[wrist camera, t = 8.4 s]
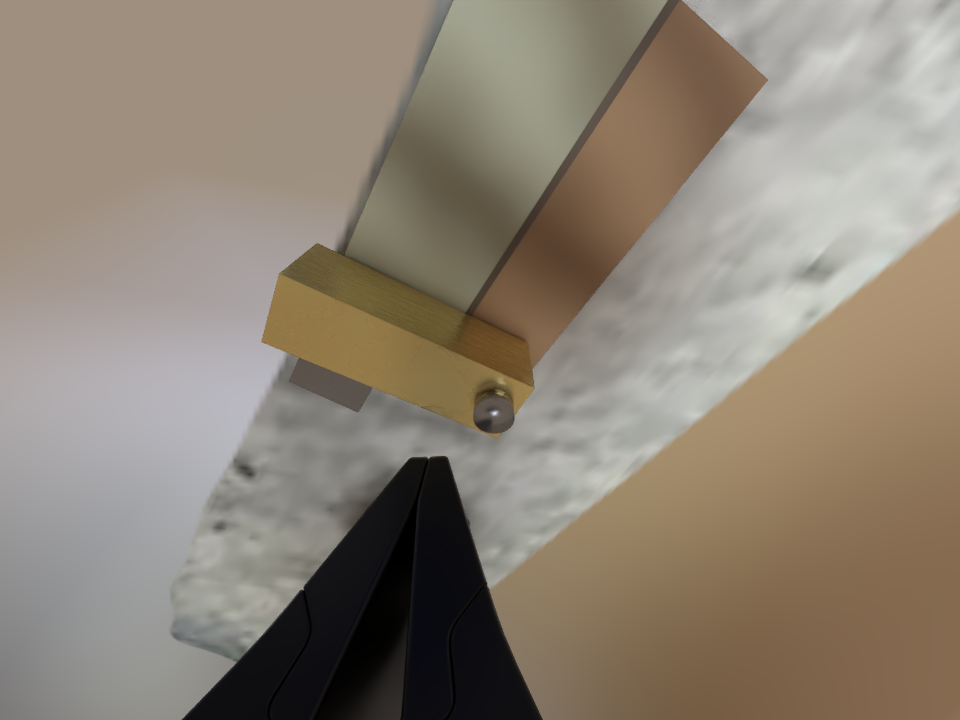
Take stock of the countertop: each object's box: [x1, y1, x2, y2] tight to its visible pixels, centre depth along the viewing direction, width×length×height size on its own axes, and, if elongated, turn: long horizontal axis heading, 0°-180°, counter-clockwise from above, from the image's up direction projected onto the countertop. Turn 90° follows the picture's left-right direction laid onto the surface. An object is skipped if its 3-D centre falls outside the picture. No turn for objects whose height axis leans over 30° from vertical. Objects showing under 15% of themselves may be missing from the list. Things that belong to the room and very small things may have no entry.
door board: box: [344, 0, 768, 369], centre depth 17 cm, size 18×10×1 cm, turn 149°
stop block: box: [289, 358, 373, 412], centre depth 18 cm, size 2×3×4 cm, turn 59°
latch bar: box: [262, 243, 534, 438], centre depth 17 cm, size 10×3×4 cm, turn 63°
